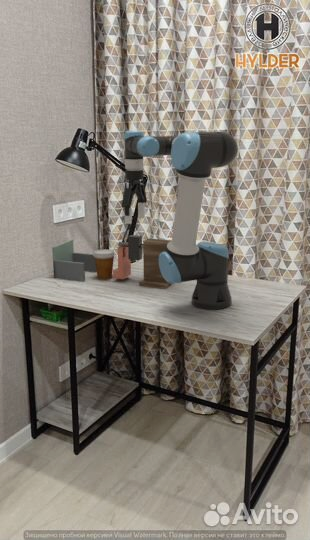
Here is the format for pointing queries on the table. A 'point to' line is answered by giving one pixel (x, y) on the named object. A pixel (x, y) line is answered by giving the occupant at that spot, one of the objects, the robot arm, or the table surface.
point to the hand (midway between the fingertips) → (135, 220)
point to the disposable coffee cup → (104, 263)
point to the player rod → (128, 256)
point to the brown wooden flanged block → (153, 263)
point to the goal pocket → (71, 262)
